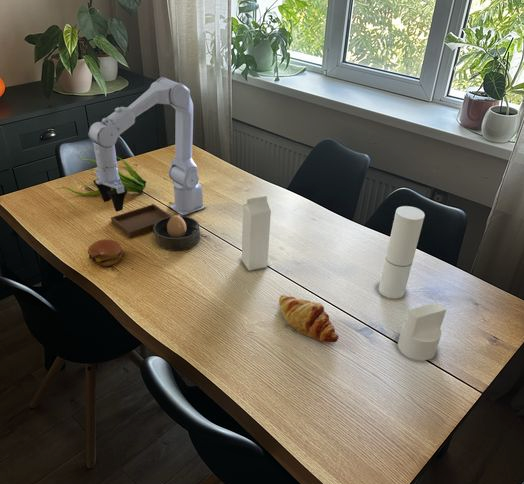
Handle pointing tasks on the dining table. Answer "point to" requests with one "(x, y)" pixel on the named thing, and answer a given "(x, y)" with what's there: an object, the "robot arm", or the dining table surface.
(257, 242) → the milk
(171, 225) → the egg
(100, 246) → the burger
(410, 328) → the base with upright slab
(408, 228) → the cylindrical container
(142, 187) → the decorative plant
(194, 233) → the dark grey mixing bowl
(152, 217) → the tray
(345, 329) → the dining table surface
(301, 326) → the croissant
